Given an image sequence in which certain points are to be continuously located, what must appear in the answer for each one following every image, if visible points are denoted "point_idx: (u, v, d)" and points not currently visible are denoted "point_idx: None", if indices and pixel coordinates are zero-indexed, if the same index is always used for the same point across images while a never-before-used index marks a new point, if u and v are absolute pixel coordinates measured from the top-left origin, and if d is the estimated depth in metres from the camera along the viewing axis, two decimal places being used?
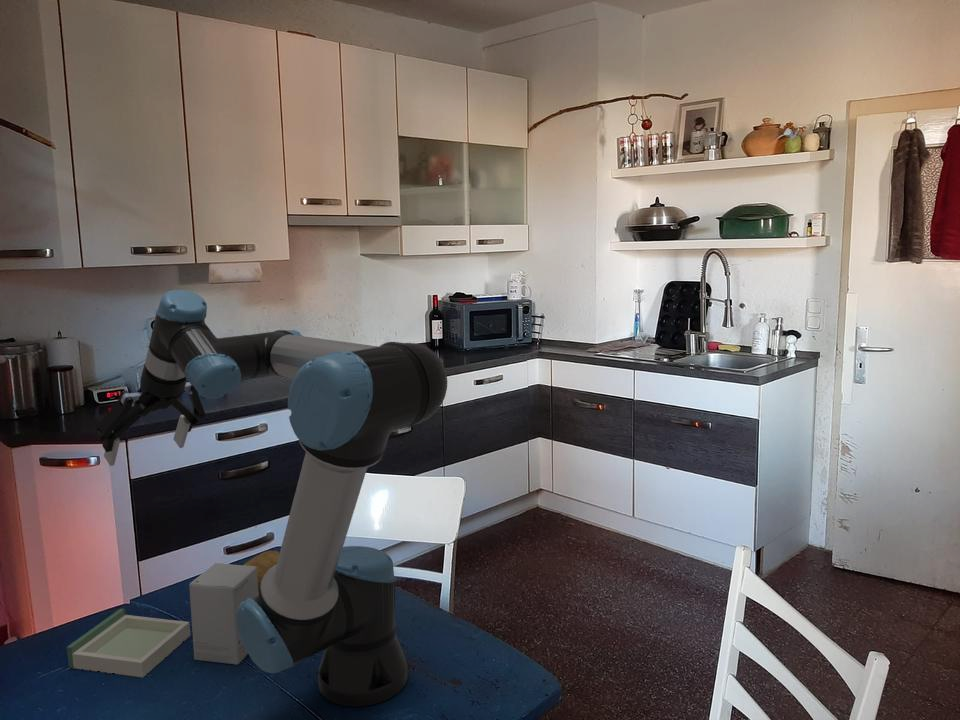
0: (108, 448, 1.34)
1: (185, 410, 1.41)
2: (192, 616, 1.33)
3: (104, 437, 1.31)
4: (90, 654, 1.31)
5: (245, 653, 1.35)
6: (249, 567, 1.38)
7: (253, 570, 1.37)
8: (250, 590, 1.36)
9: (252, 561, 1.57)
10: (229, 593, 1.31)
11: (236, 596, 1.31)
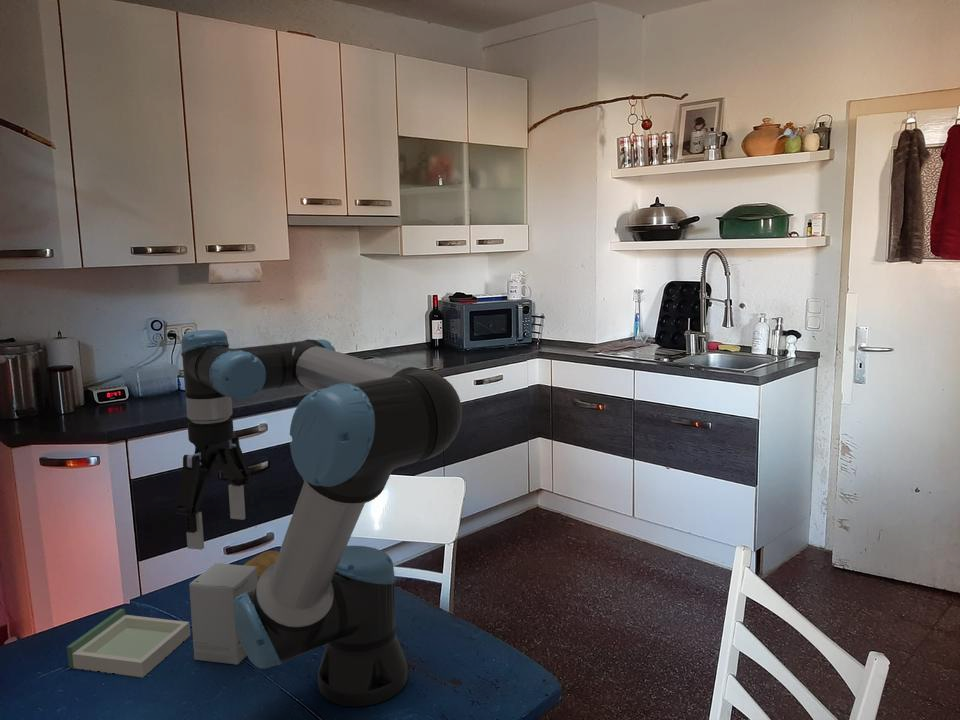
0: (194, 527, 1.26)
1: (236, 468, 1.37)
2: (192, 616, 1.33)
3: (189, 509, 1.23)
4: (90, 654, 1.31)
5: (245, 653, 1.35)
6: (249, 567, 1.38)
7: (253, 570, 1.37)
8: (250, 590, 1.36)
9: (252, 561, 1.57)
10: (229, 593, 1.31)
11: (236, 596, 1.31)
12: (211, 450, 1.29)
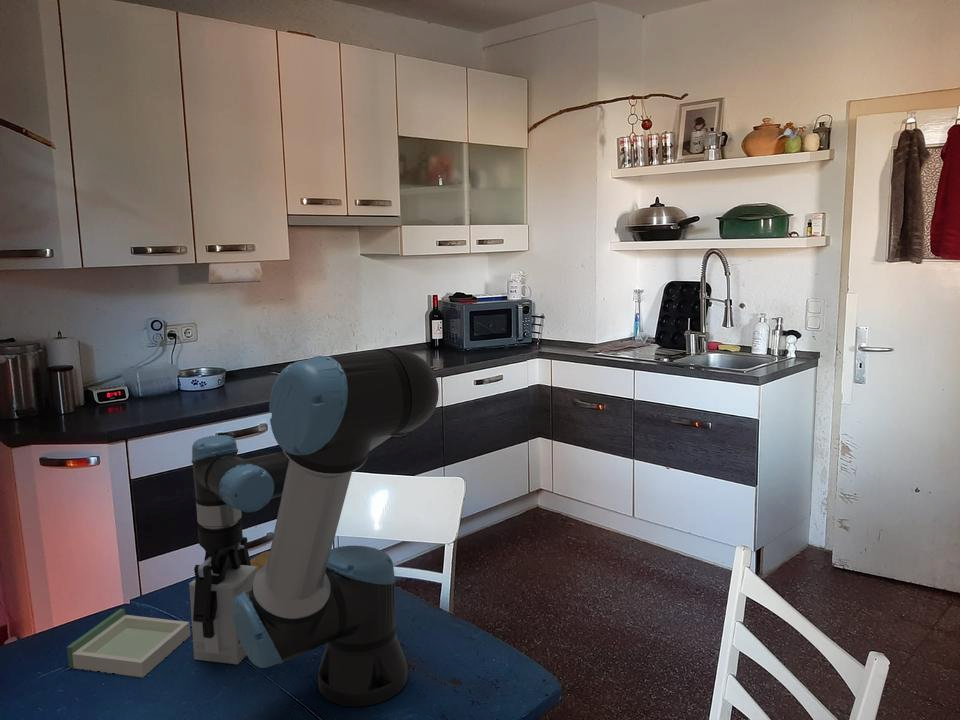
0: (211, 633, 1.31)
1: None
2: (192, 616, 1.33)
3: (207, 617, 1.28)
4: (90, 654, 1.31)
5: (245, 653, 1.35)
6: (249, 567, 1.38)
7: (253, 570, 1.37)
8: (250, 590, 1.36)
9: (252, 561, 1.57)
10: (229, 593, 1.31)
11: None
12: (220, 552, 1.32)
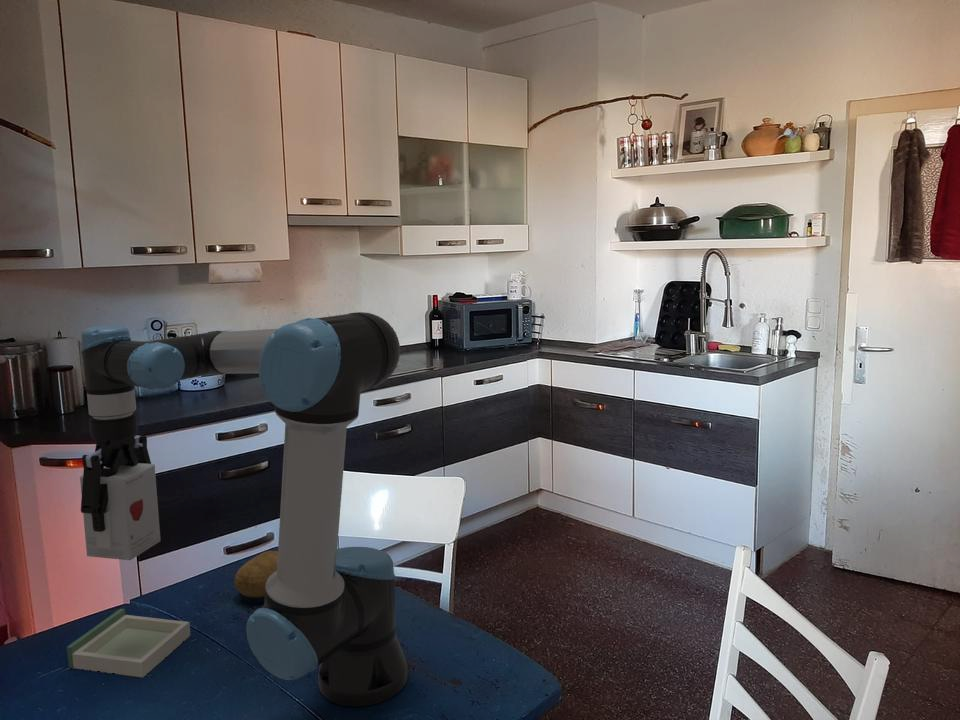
0: (101, 526, 1.27)
1: None
2: None
3: (95, 508, 1.25)
4: (90, 654, 1.31)
5: (140, 550, 1.31)
6: (146, 464, 1.35)
7: (150, 467, 1.34)
8: (146, 486, 1.33)
9: (252, 561, 1.57)
10: (119, 485, 1.27)
11: (128, 489, 1.28)
12: (112, 445, 1.29)
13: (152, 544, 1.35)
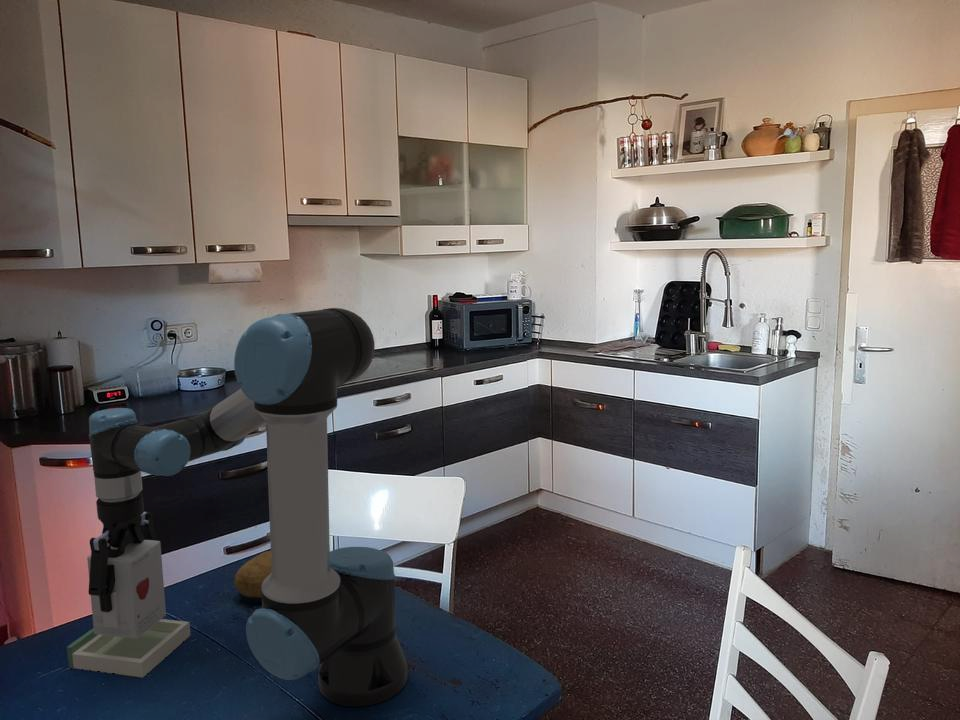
0: (109, 606, 1.30)
1: None
2: None
3: (103, 590, 1.27)
4: (90, 654, 1.31)
5: (146, 628, 1.34)
6: (152, 541, 1.37)
7: (156, 544, 1.36)
8: (152, 564, 1.35)
9: (252, 561, 1.57)
10: (126, 566, 1.29)
11: (134, 570, 1.30)
12: (119, 526, 1.31)
13: (158, 619, 1.37)
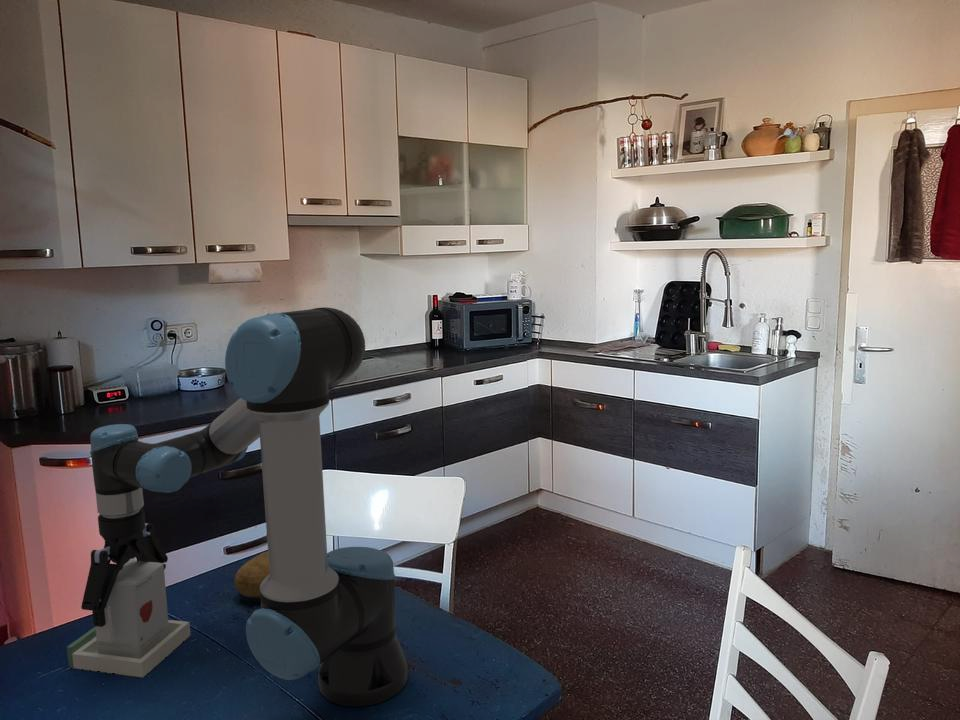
0: (102, 621, 1.28)
1: (151, 555, 1.40)
2: None
3: (96, 605, 1.26)
4: (90, 654, 1.31)
5: (149, 650, 1.35)
6: (156, 564, 1.38)
7: (159, 567, 1.37)
8: (155, 587, 1.36)
9: (252, 561, 1.57)
10: (129, 589, 1.30)
11: (138, 593, 1.31)
12: (121, 543, 1.32)
13: None
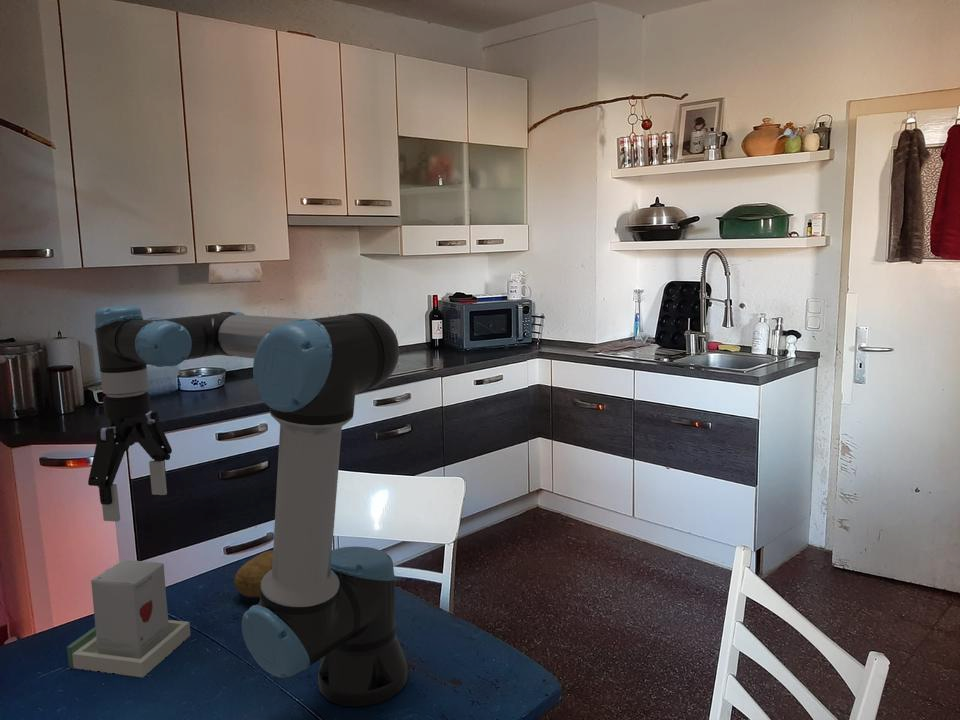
0: (109, 499, 1.27)
1: (155, 443, 1.39)
2: (95, 612, 1.33)
3: (103, 480, 1.25)
4: (90, 654, 1.31)
5: (149, 650, 1.35)
6: (155, 564, 1.38)
7: (159, 567, 1.37)
8: (155, 587, 1.36)
9: (252, 561, 1.57)
10: (129, 589, 1.30)
11: (138, 593, 1.31)
12: (127, 424, 1.31)
13: None
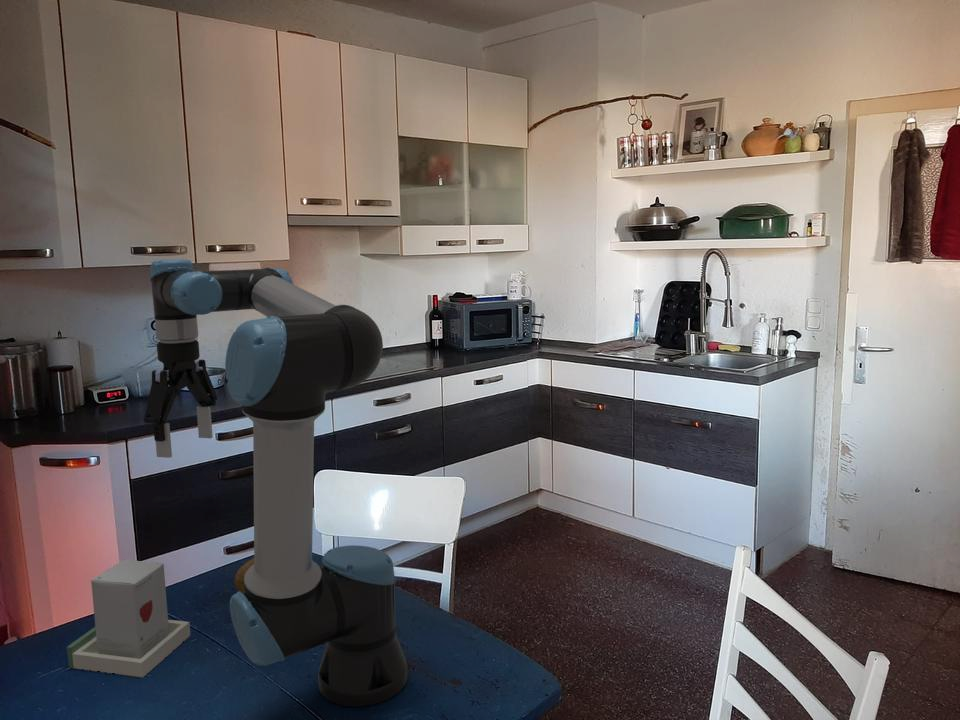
0: (162, 436, 1.38)
1: (203, 389, 1.50)
2: (95, 612, 1.33)
3: (158, 418, 1.36)
4: (90, 654, 1.31)
5: (149, 650, 1.35)
6: (155, 564, 1.38)
7: (159, 567, 1.37)
8: (155, 587, 1.36)
9: (252, 561, 1.57)
10: (129, 589, 1.30)
11: (138, 593, 1.31)
12: (178, 368, 1.42)
13: None
